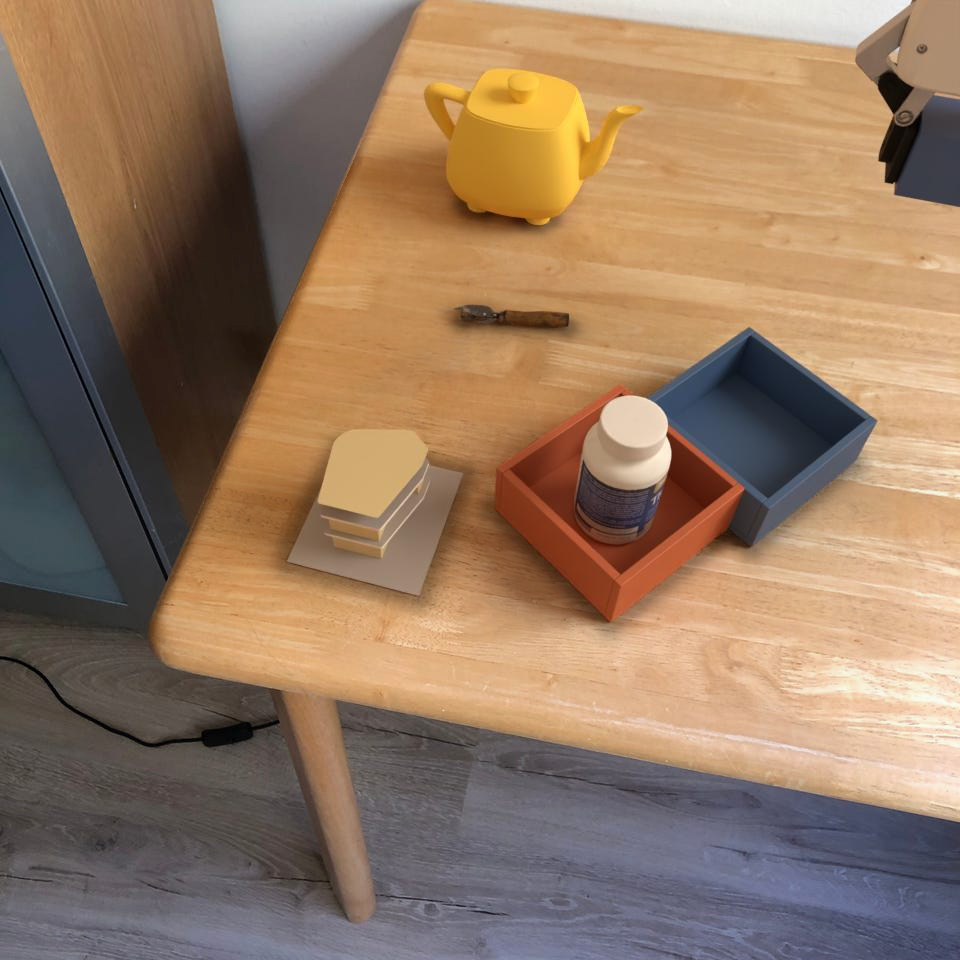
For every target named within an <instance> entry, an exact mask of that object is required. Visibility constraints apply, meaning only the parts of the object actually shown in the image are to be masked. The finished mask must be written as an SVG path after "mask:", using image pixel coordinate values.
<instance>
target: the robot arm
mask: <svg viewBox="0 0 960 960" xmlns="http://www.w3.org/2000/svg"><path fill="white" fill-rule="evenodd" d="M855 49H856V50H855V64H856V66H857V67H858V68H859V69H860V70H861V71H862V72H863V73H864V74H865V76H866V77H868V78H867V79H869V80H870V81H871V82H873V83H874V84H875V85H876V87H877V90H878V92H879V94H880V95H881V97H882V98H883V100H884V102H885V104H886V105H887V107H888V108H889V111H891V113H892V115H893V116H892V118H891V120H890V122H889V125H888V127H887V130H886V132H885V135H884V137H883V139H882V142H881V145H880V147H879V152H878V158H877V159H878V162H880V163H883V164H885V167H884V180H883V181H884V183H885V184H889V185H894V184H895V182H897V180H898V178H899V176H900V174H901V171H902V169H903V167H904V164H905V162H906V160H907V157H908V155H909V153H910V151H911V148H912V146H913V144H914V141H915V139H916V137H917V134H918V126H919V117H920V113H921V111H922V110H923V109H924V107H925V106H926V105H927V103H928V102H929V100H930V99H931V98H932V96H933V95H935V94H936V93H937V94H943V95H948V96H953V97H960V0H911V1H910V3H909V4H908V5H907V6H906V7H904V8H903V9H902V10H901V11H900V12H898V13H897V14H896V15H895V16H893V17H892V18H890V19H889V20H888V21H886V22H885V23H884V24H882V26H880V27H878V29H876V30H875V31H874V32H872V33H871V34H870V35H868V36H867V37H866V38H864V39H863V40H862V41H860V42H859V44H857V46H856V48H855ZM897 49H898V52H897V57H896V62H894V61H893V60H892V58H891V57H890V55H891V54H892V53H894V51H896V50H897Z"/></svg>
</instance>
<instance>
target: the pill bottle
mask: <svg viewBox="0 0 960 960" xmlns="http://www.w3.org/2000/svg"><path fill="white" fill-rule="evenodd" d="M646 398H647V397H644V396H639V395H635V396H622V397H618V398H615V399H613V400H611V401H610V402H609V403H607V404H606V405H605V407H604V408H603V410H602V412H601V415H600V419H599V421H598V422H597V423H596V424H595V425H593V426H592V428H591V429H590V430H589V431H588V433H587V435H586V437H585V440H584V444H583V450H582V455H581V461H580V468H579V474H578V480H577V485H576V491H575V495H574V515H575V518H576V521H577V523H578V525H579V526H580V527H581V529H582V530H583V531H584V532H585V533H586V534H587V535H589V536H590V537H592V538H593V539H595V540H598V541H600V542H603V543H607V544H615V545H618V544H626V543H631V542H634V541H636V540H638V539H640V538H641V537H642V536H643V535H644V534H645V533H646V532H647V531H648V530H649V528H650V526H651V524H652V522H653V519H654V516H655V513H656V510H657V506H658V503H659V500H660V496H661V494H662V490H663V487H664V483H665V480H666V476H667V473H668V470H669V466H670V462H671V447H670V443H669V441H668V439H667V437H666V434H667V428H668V421H667V417H666V415H665V413H664V412H663V410H662V409H661V408H660V407H659V406H658V405H657V404H655V403H654V402H652V401H651V400H648V399H646Z"/></svg>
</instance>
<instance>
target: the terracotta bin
mask: <svg viewBox="0 0 960 960" xmlns="http://www.w3.org/2000/svg"><path fill="white" fill-rule="evenodd" d="M622 396H636V395H635V394H634V393H632V391H630V389H627V387H625V386H624V385H623V384H621V383H620V384H618V385H617V386H615V387H614V388H612V389H611V390H609V391H608V392H606V393H605V394H603V395H602V396H600V397H599V398H597V399H596V400H594V401H593V402H591V403H590V404H589V405H587V406H585V407H584V408H583V409H581V410H579V411H578V412H577V413H575V414H573V415H572V416H570V417H569V418H568V419H566V420H564V421H563V422H562V423H560V424H559V425H557V426H555V428H553V429H551V430H550V431H549V432H547V433H546V434H544V435H543V436H541V437H540V438H538V439H537V440H535V441H534V442H532V443H531V444H529V445H528V446H525V448H523V449H521V450H520V451H519V452H518V453H516V454H514V455H512V457H510V458H508V459H506V461H504V462H503V463H500V464H499V465H498V466H497V467H495V483H494V501H493V502H494V504H493V508H494V509H495V510H496V511H497V512H498V514H500V515H501V516H502V517H503V518H504V520H506V521H507V522H508V523H509V524H510V525H511V526H512V527H513V528H514V530H516V531H517V532H518V533H519V534H520V535H521V536H522V537H523V538H524V539H525V540H526V541H527V542H528V543H529V544H530V545H531V546H532V547H533V548H534V549H535V550H536V551H537V552H538V553H540V555H541V556H542V557H544V559H545V560H546V561H547V562H548V563H549V564H551V566H553V568H555V570H556V571H558V572H559V574H561V576H563V577H564V578H565V579H566V580H567V582H569V583H570V584H571V585H572V586H573V588H575V590H577V591H578V592H579V593H580V594H581V595H582V596H583V597H584V598H585V599H586V600H587V601H588V602H589V604H591V605H592V606H593V607H594V608H595V609H596V610H597V611H598V612H599V613H601V615H602V616H603V617H605V619H606V620H608V621H609V622H610V623H612V622H614V620H616V619H617V618H618V617H620V616H621V615H622V614H623V613H625V611H627V610H628V609H630V608H631V607H632V606H633V605H635V604H636V603H637V602H638V601H640V600H641V599H642V598H644V597H645V596H646V595H647V594H649V592H651V591H653V590H654V588H656V587H657V586H658V585H660V584H661V583H662V582H663V581H664V580H666V579H667V578H668V577H670V576H671V575H673V573H675V572H676V571H677V570H678V569H679V568H681V567H682V566H683V565H685V563H687V562H688V561H689V560H690V559H692V558H693V557H695V555H697V554H698V553H700V552H701V551H702V550H703V549H704V548H705V547H707V546H708V545H710V544H711V543H712V542H713V541H714V540H715V539H717V538H718V537H719V536H721V534H723V533H725V531H727V530H728V529H729V528H728V527H729V525H730V523H731V520H732V518H733V515H734V513H735V511H736V508H737V506H738V504H739V501H740V499H741V496H742V494H743V492H744V489H745V487H743V486H742V485H741V484H740V483H737V481H736V480H735V479H734V478H732V477H731V476H730V474H727V472H725V471H724V470H723V469H721V468H720V467H719V465H717V464H715V463H714V462H713V461H712V460H711V459H709V458H708V457H707V456H706V455H704V454H703V453H702V452H701V451H700V450H698V449H697V448H696V447H695V446H694V445H692V444H691V443H690V442H689V441H688V440H686V439H685V437H683V436H681V435H680V434H679V432H678V431H676V430H675V429H673V428H672V427H671V426H669V425H668V428H667V434H666V437H667V439H668V441H669V443H670V447H671V462H670V466H669V470H668V473H667V476H666V480H665V483H664V487H663V490H662V494H661V496H660V500H659V503H658V506H657V510H656V513H655V516H654V519H653V522H652V524H651V526H650V528H649V530H648V531H647V532H646V533H645V534H644V535H643V536H642V537H641V538H640V539H638V540H636V541H634V542H631V543H626V544H618V545H615V544H607V543H603V542H600V541H598V540H595V539H593V538H592V537H590V536H589V535H587V534H586V533H585V532H584V531H583V530H582V529H581V527H580V526H579V525H578V523H577V521H576V518H575V515H574V495H575V491H576V485H577V480H578V474H579V468H580V461H581V455H582V450H583V444H584V440H585V437H586V435H587V433H588V431H589V430H590V429H591V428H592V426H593V425H595V424H596V423H597V422H598V421H599V419H600V415H601V412H602V410H603V408H604V407H605V405H606V404H607V403H609V402H610V401H611V400H613V399H615V398H618V397H622Z"/></svg>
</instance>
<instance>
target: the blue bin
mask: <svg viewBox="0 0 960 960" xmlns="http://www.w3.org/2000/svg"><path fill="white" fill-rule="evenodd" d="M645 398H646V399H648V400H651V401H652V402H654V403H655V404H657V405H658V406H659V407H660V408H661V409H662V410H663V412H664V413H665V415H666V417H667V421H668V425H669V426H671V427H672V428H673V429H675V430H676V431H678V432H679V434H680V435H681V436H683V437H685V439H686V440H688V441H689V442H690V443H691V444H692V445H694V446H695V447H696V448H697V449H698V450H700V451H701V452H702V453H703V454H704V455H706V456H707V457H708V458H709V459H711V460H712V461H713V462H714V463H715V464H717V465H719V467H720V468H721V469H723V470H724V471H725V472H727V474H730V476H731V477H732V478H734V479H735V480H736V481H737V483H740V484H741V485H742V486H743V487H745V489H744V492H743V494H742V496H741V499H740V501H739V504H738V506H737V508H736V511H735V513H734V515H733V518H732V520H731V523H730V525H729V527H728V529H729V531H731V532H732V534H734V535H735V536H737V537H738V538H739V539H740V540H741V541H743V543H745V545H747V546H748V547H749V548H753V547H754V546H756V545H757V544H758V543H760V541H761V540H763V539H764V538H765V537H766V536H768V534H770V533H771V532H773V530H774V529H776V528H777V527H778V526H779V525H780V524H782V523H783V522H784V521H786V519H788V518H789V517H791V516H792V515H793V514H794V513H795V512H796V511H798V510H799V509H800V508H801V507H802V506H803V505H805V504H806V503H807V502H808V501H810V500H811V499H812V498H813V497H815V495H817V494H818V493H819V492H820V491H821V490H823V489H824V488H825V487H826V486H828V485H829V484H830V483H832V481H834V480H835V479H836V478H837V477H839V476H840V475H841V474H842V473H843V472H844V471H846V470H847V469H848V468H850V467H851V466H852V465H853V464H854V463H855V462H856V461H857V460H858V457H859V455H860V454H861V452H862V451H863V449H864V446H865V445H866V443H867V441H868V439H869V438H870V436H871V434H872V433H873V431H874V429H875V428H876V425H877V423H878V419H877V418H875V417H874V416H872V415H871V414H870V413H868V412H867V411H866V410H864V409H863V408H862V407H860V406H858V405H857V404H856V403H855V402H853V401H852V400H850V399H849V398H848V397H846V396H845V395H844V394H842V393H841V392H840V391H838V390H837V389H835V388H834V387H833V386H831V385H830V384H829V383H827V382H826V381H825V380H823V379H822V378H821V377H819V376H817V375H816V374H815V373H814V372H812V371H811V370H809V369H808V368H807V367H805V366H804V365H802V364H801V363H800V362H799V361H797V360H796V359H794V358H793V357H791V356H790V355H789V354H787V353H786V352H785V351H783V350H782V349H781V348H779V347H778V346H776V345H775V344H774V343H772V342H771V341H770V340H768V339H767V338H766V337H764V336H762V335H761V334H760V333H758V332H757V331H755V330H754V329H753V328H752V327H750V326H748V327H747V328H745V329H743V330H742V331H740V333H738V334H736V335H735V336H734V337H732V338H731V339H729V340H728V341H727V342H725V343H724V344H722V345H721V346H719V347H717V348H716V349H715V350H714V351H712V352H711V353H709V354H708V355H706V356H704V357H703V358H702V359H701V360H699V361H697V362H696V363H694V364H693V365H692V366H690V367H689V368H687V369H686V370H684V372H682V373H680V374H679V375H677V376H676V377H675V378H673V379H672V380H670V381H669V382H668V383H666V384H664V385H663V386H662V387H660V388H658V389H657V390H655V392H653V393H652V394H650V395H648V396H647V397H645Z"/></svg>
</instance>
